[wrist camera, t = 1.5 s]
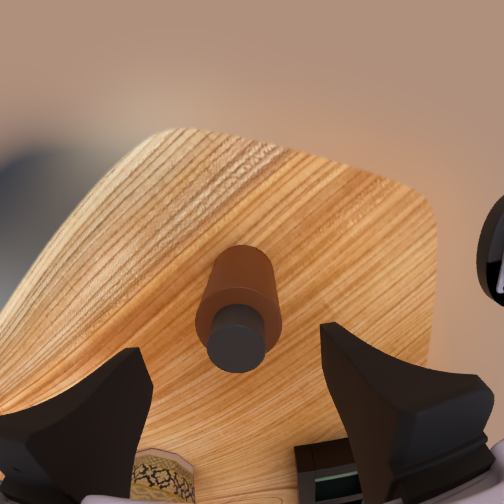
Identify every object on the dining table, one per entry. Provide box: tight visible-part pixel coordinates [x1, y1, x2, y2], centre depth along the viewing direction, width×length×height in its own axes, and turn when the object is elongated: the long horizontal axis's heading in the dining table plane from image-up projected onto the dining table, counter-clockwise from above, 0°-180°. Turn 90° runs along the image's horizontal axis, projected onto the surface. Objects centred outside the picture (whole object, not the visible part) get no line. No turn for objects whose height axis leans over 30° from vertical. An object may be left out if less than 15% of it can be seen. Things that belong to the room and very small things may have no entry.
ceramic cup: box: [130, 449, 195, 504], centre depth 23 cm, size 13×10×10 cm
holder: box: [294, 438, 364, 504], centre depth 27 cm, size 8×22×3 cm, turn 8°
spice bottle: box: [195, 245, 282, 373], centre depth 17 cm, size 4×4×9 cm
